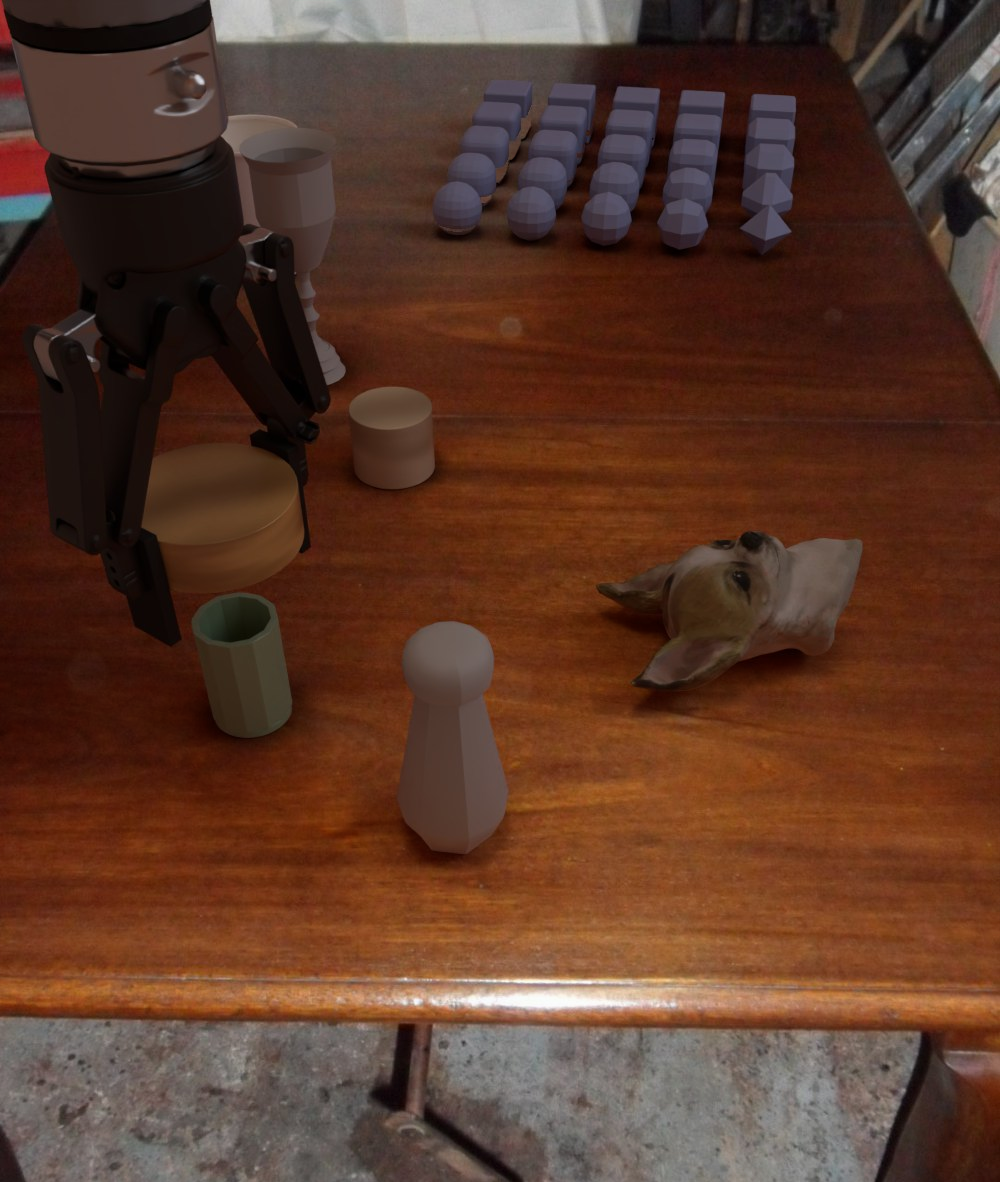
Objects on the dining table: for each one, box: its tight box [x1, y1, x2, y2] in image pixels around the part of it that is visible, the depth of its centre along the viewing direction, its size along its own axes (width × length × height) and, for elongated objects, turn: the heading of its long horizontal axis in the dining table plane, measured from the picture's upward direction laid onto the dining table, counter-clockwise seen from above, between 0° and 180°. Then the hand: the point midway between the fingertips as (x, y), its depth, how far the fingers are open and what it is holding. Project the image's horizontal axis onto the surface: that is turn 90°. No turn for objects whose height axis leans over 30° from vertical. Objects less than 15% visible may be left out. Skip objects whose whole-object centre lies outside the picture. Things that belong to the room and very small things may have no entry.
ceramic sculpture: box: [595, 530, 864, 692], centre depth 71 cm, size 11×9×15 cm
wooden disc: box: [141, 442, 304, 595], centre depth 60 cm, size 9×9×3 cm
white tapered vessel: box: [221, 114, 299, 275], centre depth 109 cm, size 10×10×12 cm
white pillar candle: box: [348, 386, 436, 490], centre depth 87 cm, size 6×6×5 cm
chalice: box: [239, 127, 347, 386], centre depth 93 cm, size 7×7×18 cm
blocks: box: [432, 78, 797, 256], centre depth 126 cm, size 35×34×5 cm
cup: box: [190, 591, 293, 739], centre depth 67 cm, size 5×5×7 cm
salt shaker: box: [395, 620, 510, 855], centre depth 59 cm, size 6×6×13 cm
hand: (226, 585), depth 64 cm, fingers closed on wooden disc, 9 cm apart
